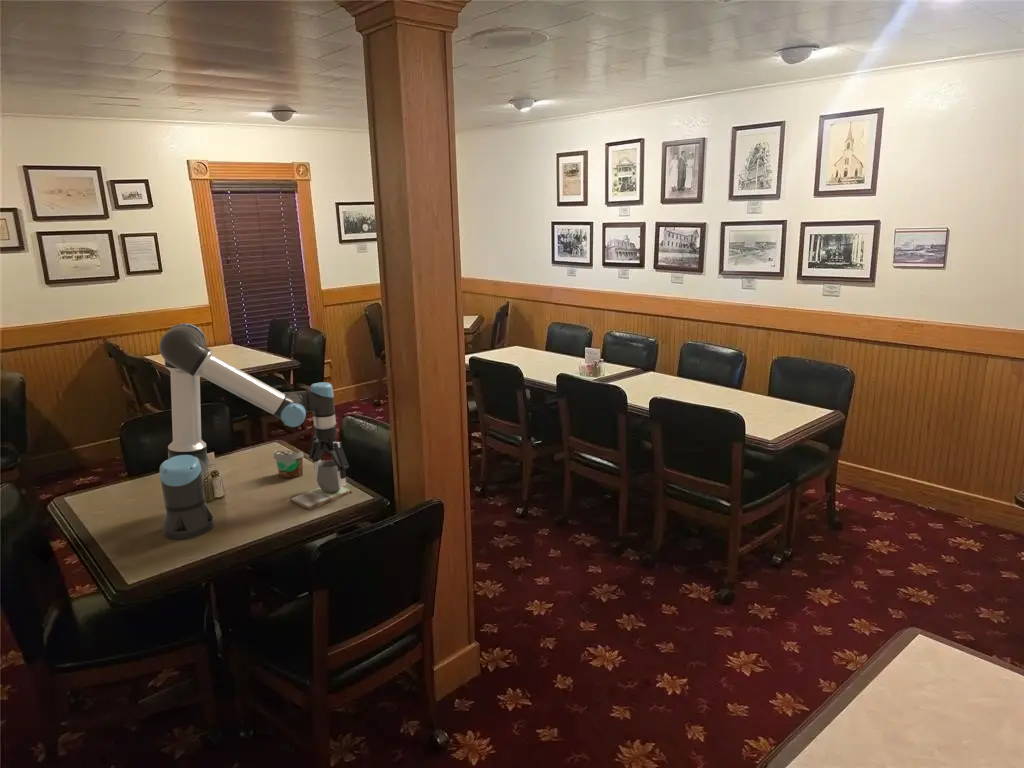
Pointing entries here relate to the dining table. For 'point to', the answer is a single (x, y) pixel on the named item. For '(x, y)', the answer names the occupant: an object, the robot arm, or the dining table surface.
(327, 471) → the cup
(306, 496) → the green and white board
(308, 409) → the robot arm
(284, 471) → the food container
